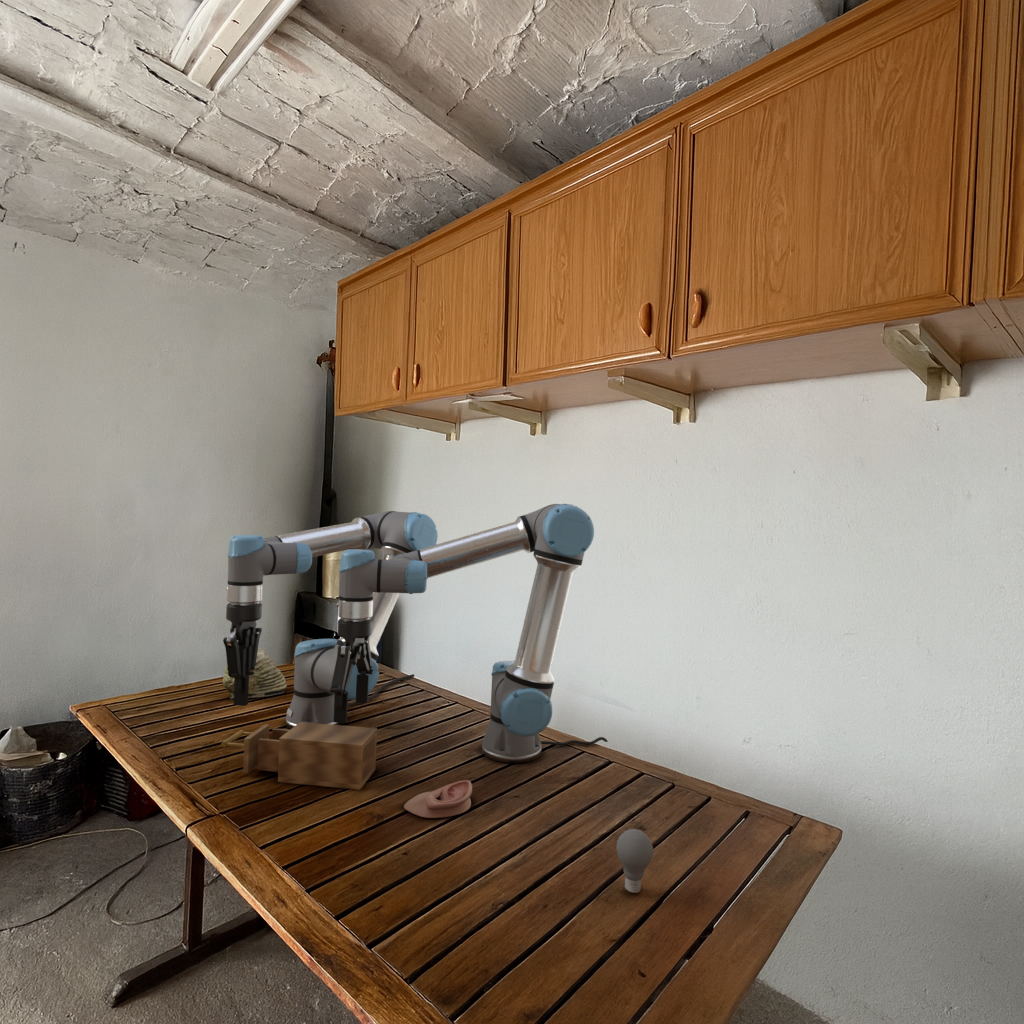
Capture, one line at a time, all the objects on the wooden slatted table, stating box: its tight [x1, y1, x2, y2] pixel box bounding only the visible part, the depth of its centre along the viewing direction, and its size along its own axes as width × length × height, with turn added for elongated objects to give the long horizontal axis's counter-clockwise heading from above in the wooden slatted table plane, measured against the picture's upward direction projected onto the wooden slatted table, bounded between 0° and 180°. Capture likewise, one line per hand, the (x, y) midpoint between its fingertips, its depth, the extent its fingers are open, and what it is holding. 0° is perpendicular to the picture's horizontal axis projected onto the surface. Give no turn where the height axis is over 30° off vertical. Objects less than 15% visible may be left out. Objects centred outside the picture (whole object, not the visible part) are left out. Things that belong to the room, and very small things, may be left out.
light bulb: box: [615, 828, 654, 894], centre depth 106 cm, size 6×6×10 cm
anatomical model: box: [403, 779, 473, 819], centre depth 132 cm, size 13×4×12 cm
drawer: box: [220, 723, 290, 774], centre depth 145 cm, size 23×9×8 cm, turn 84°
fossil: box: [222, 647, 288, 699], centre depth 198 cm, size 9×18×15 cm, turn 132°
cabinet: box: [277, 722, 378, 791], centre depth 144 cm, size 19×10×10 cm, turn 84°
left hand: (240, 704), depth 146 cm, fingers closed
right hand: (351, 712), depth 143 cm, fingers open, 13 cm apart
